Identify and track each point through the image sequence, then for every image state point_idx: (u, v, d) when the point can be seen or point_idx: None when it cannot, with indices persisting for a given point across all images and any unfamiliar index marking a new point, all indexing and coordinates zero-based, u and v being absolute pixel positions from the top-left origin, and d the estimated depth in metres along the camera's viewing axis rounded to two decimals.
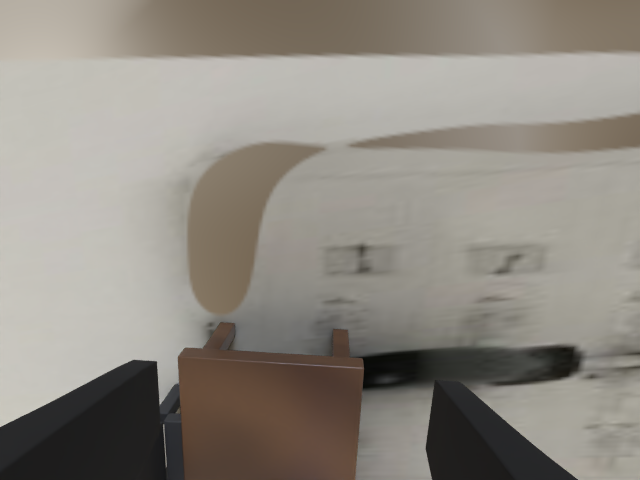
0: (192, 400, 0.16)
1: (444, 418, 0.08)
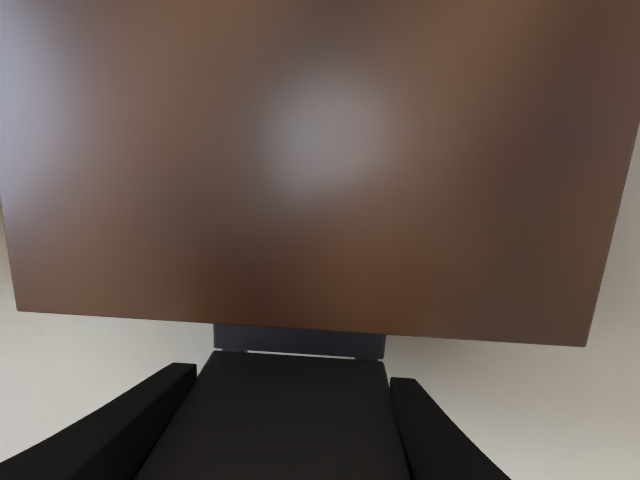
0: (96, 295, 0.09)
1: (395, 415, 0.08)
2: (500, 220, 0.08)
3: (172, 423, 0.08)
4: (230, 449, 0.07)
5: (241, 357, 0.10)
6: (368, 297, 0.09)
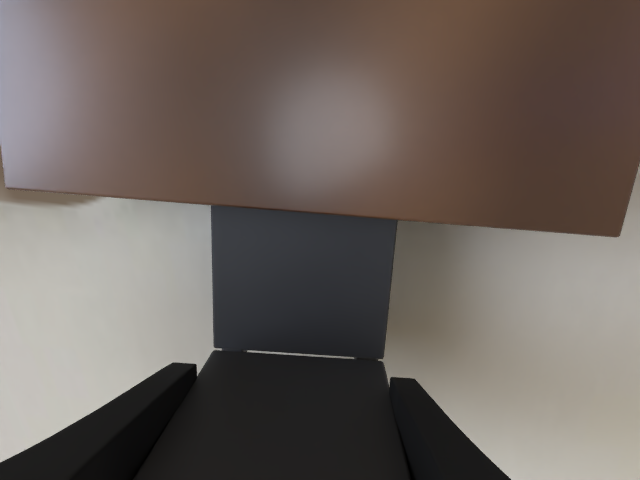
0: (92, 170, 0.08)
1: (395, 415, 0.08)
2: (533, 87, 0.07)
3: (172, 423, 0.08)
4: (229, 449, 0.07)
5: (241, 357, 0.10)
6: (386, 176, 0.08)
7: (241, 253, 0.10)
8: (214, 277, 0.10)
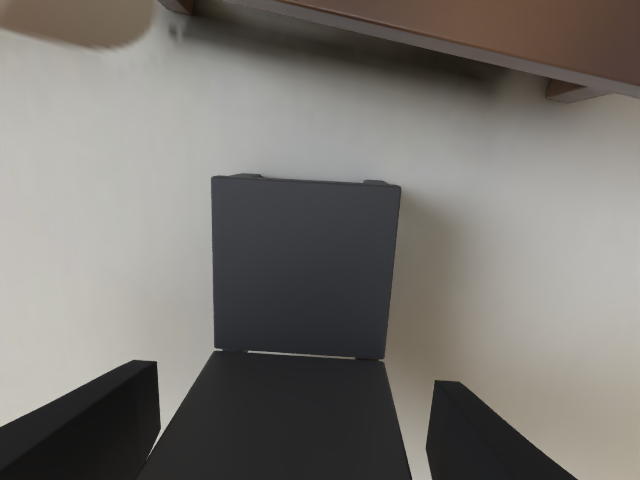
0: None
1: (444, 418, 0.08)
2: None
3: (173, 423, 0.08)
4: (230, 450, 0.07)
5: (241, 357, 0.10)
6: None
7: (242, 253, 0.10)
8: (215, 278, 0.10)
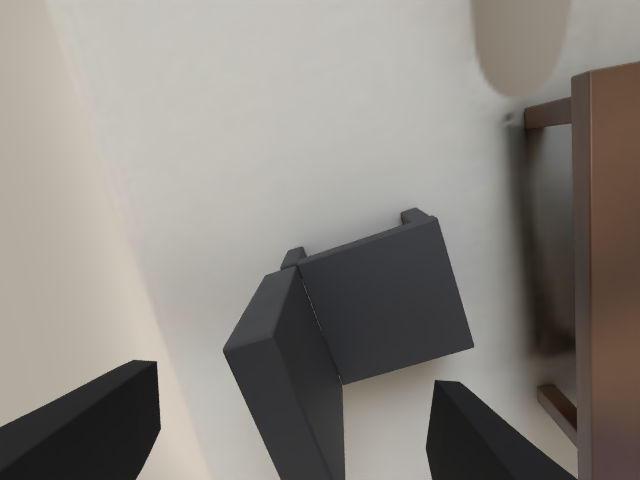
0: (611, 148, 0.10)
1: (444, 418, 0.08)
2: None
3: (286, 302, 0.10)
4: (302, 359, 0.09)
5: (304, 292, 0.12)
6: (622, 360, 0.11)
7: (385, 260, 0.12)
8: (357, 246, 0.12)
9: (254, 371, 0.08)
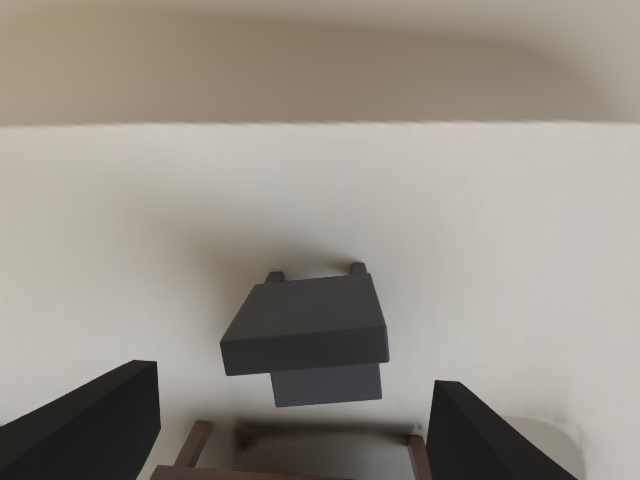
0: None
1: (444, 418, 0.08)
2: None
3: None
4: None
5: None
6: None
7: None
8: None
9: (364, 344, 0.11)
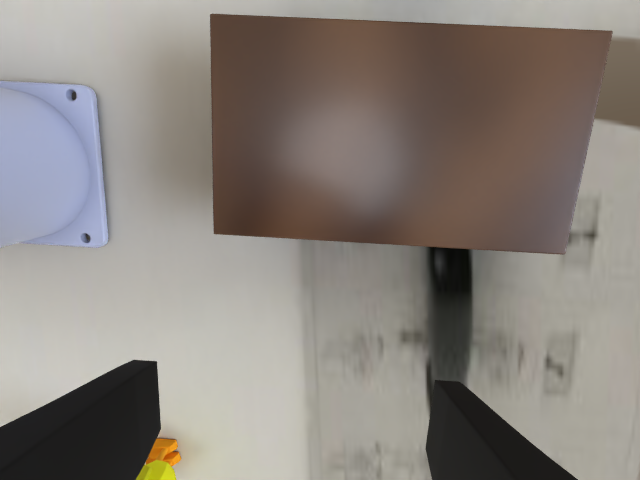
0: (548, 46, 0.13)
1: (444, 418, 0.08)
2: (278, 105, 0.13)
3: None
4: None
5: None
6: (357, 49, 0.13)
7: None
8: None
9: None
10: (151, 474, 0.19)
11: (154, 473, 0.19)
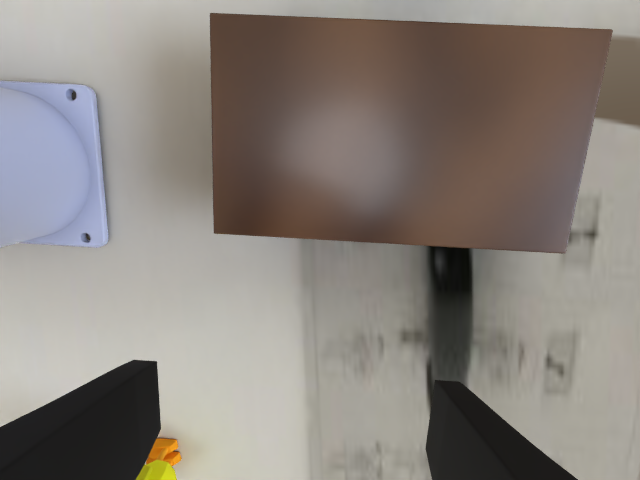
0: (548, 45, 0.13)
1: (444, 418, 0.08)
2: (278, 104, 0.13)
3: None
4: None
5: None
6: (357, 48, 0.13)
7: None
8: None
9: None
10: (151, 474, 0.19)
11: (155, 473, 0.19)
